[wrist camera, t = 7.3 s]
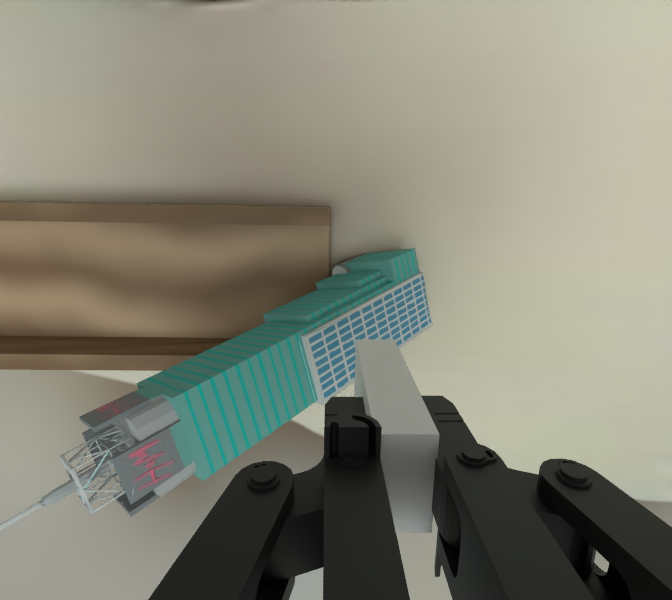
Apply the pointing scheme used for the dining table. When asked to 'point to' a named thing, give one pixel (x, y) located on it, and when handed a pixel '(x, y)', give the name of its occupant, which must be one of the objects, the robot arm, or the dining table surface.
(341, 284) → the building
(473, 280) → the dining table surface
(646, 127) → the dining table surface
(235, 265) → the tray
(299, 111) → the dining table surface
